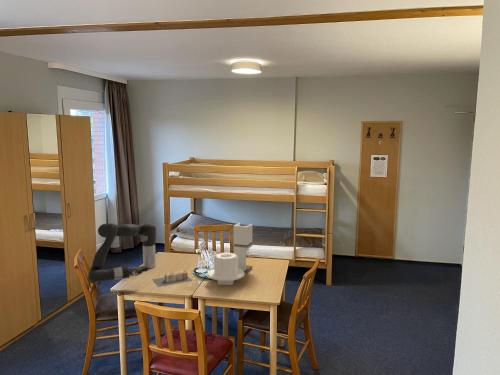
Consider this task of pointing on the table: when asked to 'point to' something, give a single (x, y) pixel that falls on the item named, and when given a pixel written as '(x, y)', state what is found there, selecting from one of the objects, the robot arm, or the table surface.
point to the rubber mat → (162, 282)
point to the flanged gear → (226, 269)
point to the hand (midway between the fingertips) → (147, 269)
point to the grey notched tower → (242, 245)
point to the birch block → (176, 276)
